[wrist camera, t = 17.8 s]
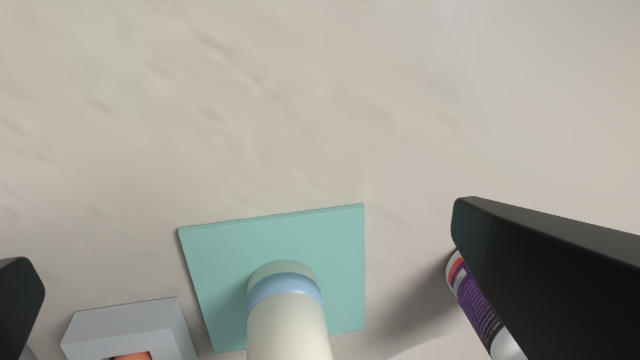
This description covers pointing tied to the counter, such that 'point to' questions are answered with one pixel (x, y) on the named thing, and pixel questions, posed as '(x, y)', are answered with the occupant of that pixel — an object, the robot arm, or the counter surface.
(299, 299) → the cartridge
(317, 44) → the counter surface
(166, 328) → the block
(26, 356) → the port plate
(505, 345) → the pill bottle
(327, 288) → the rubber mat
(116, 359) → the release button
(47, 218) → the counter surface
